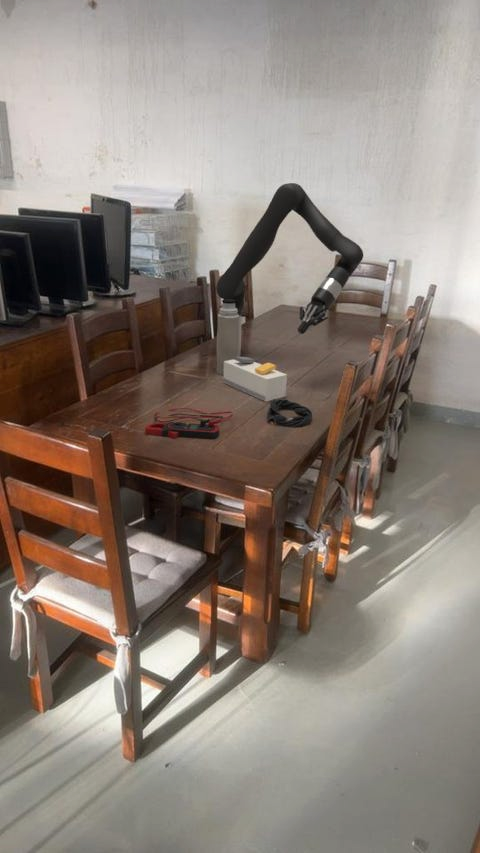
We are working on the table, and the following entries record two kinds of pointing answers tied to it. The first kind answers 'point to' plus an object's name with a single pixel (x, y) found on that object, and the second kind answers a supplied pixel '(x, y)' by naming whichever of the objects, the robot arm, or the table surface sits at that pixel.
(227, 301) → the thermos bottle
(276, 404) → the cable
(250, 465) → the table surface
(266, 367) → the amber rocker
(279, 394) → the switch box
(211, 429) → the digital clamp meter
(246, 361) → the flat grey slab box
